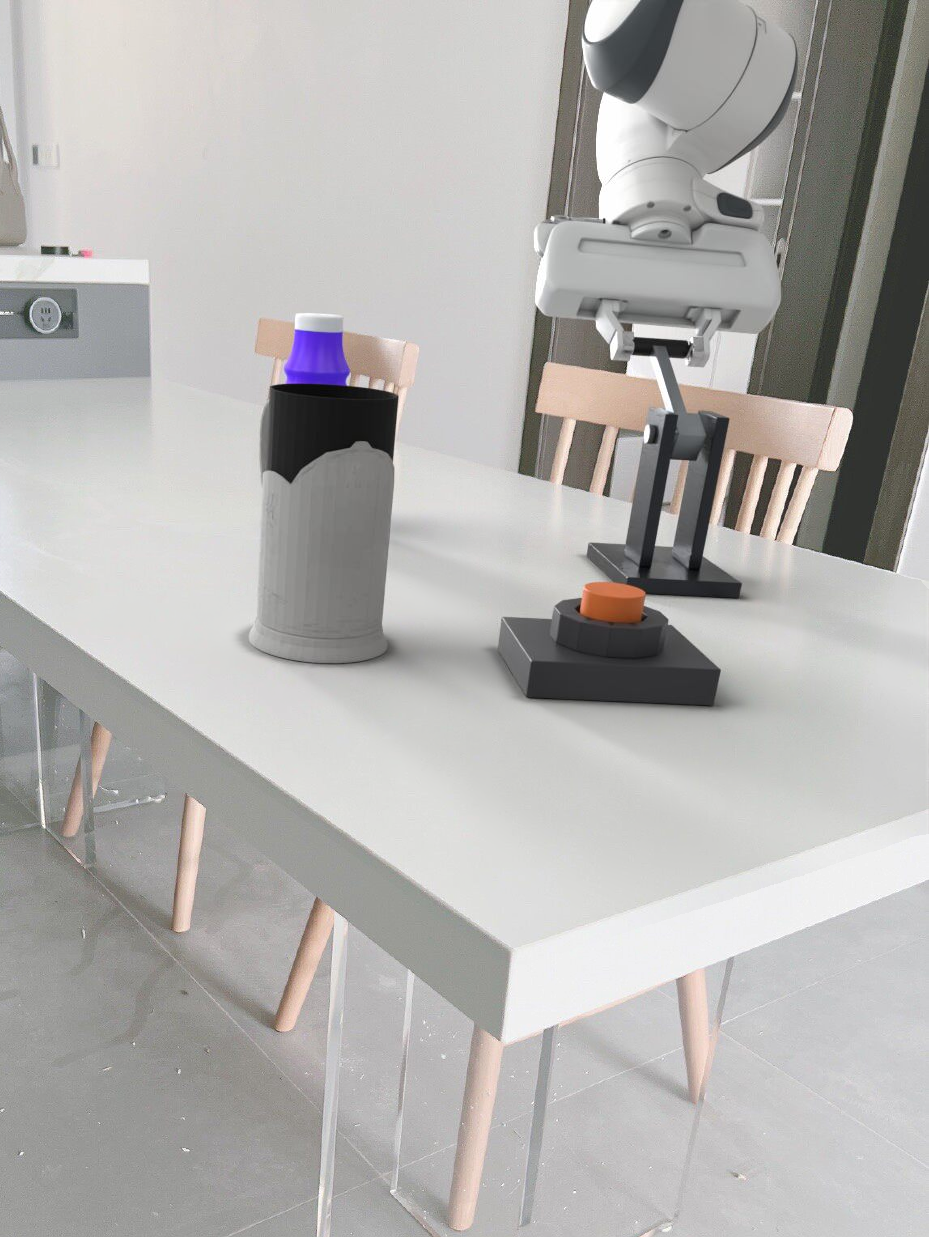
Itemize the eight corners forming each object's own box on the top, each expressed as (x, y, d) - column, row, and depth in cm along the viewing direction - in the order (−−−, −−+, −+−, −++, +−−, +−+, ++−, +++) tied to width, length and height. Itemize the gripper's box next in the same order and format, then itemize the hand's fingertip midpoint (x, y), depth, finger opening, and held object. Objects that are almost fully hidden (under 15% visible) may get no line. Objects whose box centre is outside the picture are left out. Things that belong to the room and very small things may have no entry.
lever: (621, 353, 103) (629, 327, 101) (679, 357, 103) (688, 331, 101) (651, 458, 94) (660, 432, 92) (714, 462, 95) (724, 436, 93)
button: (631, 611, 74) (635, 583, 73) (648, 628, 71) (653, 599, 70) (572, 608, 74) (577, 580, 73) (587, 625, 70) (592, 596, 70)
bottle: (314, 533, 105) (327, 317, 98) (259, 522, 108) (268, 311, 101) (356, 521, 111) (371, 316, 104) (303, 511, 114) (314, 311, 107)
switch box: (665, 657, 78) (677, 596, 77) (713, 706, 70) (728, 638, 68) (497, 649, 77) (505, 588, 76) (525, 697, 69) (535, 629, 68)
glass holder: (283, 668, 71) (297, 399, 65) (197, 603, 83) (202, 370, 76) (412, 656, 75) (437, 401, 69) (313, 596, 86) (327, 373, 80)
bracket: (586, 556, 104) (610, 399, 99) (688, 561, 105) (718, 406, 99) (625, 592, 93) (654, 419, 88) (739, 598, 94) (775, 426, 89)
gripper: (543, 185, 101) (546, 322, 97) (782, 207, 102) (796, 343, 98) (525, 242, 107) (527, 373, 103) (751, 262, 108) (763, 393, 104)
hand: (661, 359), depth 100 cm, fingers closed on lever, 5 cm apart
